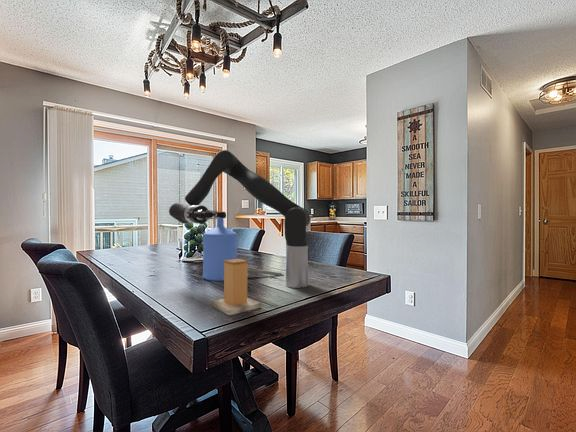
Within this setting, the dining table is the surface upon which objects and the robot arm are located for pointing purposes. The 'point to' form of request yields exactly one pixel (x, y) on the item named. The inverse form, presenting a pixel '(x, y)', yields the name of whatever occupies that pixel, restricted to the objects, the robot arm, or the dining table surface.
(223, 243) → the water jug
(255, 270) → the caliper
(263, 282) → the dining table surface
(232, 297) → the orange tall block
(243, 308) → the stub plate
